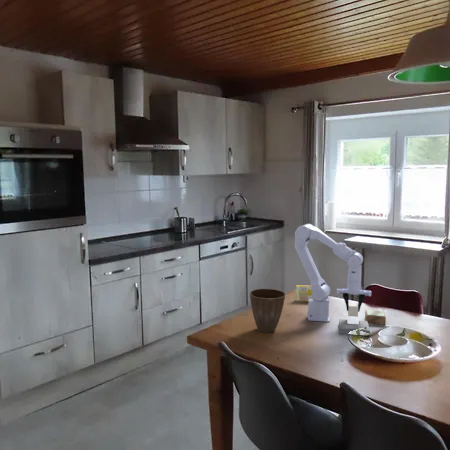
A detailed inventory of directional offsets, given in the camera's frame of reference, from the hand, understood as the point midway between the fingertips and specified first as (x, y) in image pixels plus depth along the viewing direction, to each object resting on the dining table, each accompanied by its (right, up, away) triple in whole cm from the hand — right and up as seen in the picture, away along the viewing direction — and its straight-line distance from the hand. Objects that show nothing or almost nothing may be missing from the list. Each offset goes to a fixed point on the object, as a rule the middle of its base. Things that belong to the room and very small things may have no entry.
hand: (352, 310), depth 198 cm
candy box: (-11, -2, +36) cm, 38 cm away
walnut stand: (+11, -6, +4) cm, 13 cm away
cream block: (0, -2, 0) cm, 2 cm away
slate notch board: (-2, -7, -7) cm, 10 cm away
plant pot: (-39, -7, -7) cm, 40 cm away
